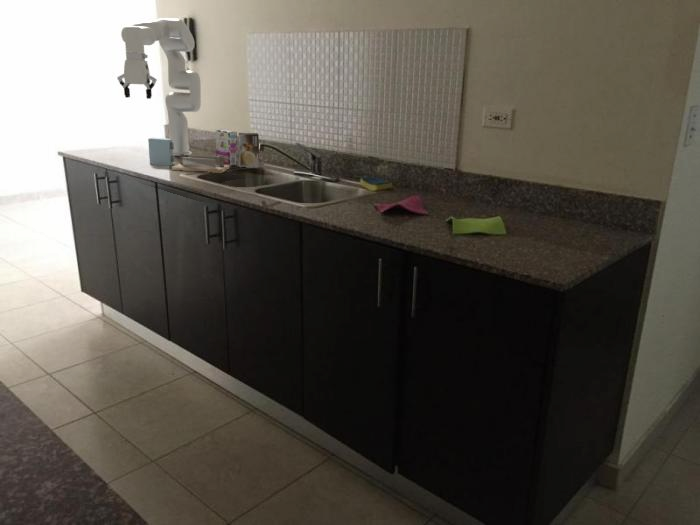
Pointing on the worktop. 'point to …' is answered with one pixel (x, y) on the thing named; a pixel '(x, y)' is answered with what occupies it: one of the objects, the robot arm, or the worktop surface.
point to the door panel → (161, 151)
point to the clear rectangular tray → (202, 163)
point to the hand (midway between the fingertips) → (138, 97)
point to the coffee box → (249, 150)
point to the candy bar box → (227, 146)
